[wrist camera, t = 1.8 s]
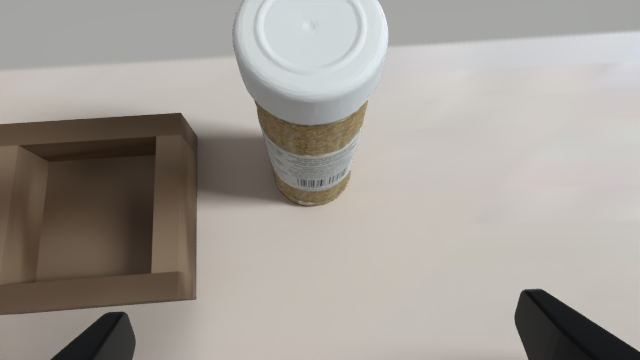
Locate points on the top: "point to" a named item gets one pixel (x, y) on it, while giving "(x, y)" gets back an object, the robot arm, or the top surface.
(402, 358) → the top surface
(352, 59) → the sprinkles bottle
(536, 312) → the robot arm
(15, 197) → the walnut holder
